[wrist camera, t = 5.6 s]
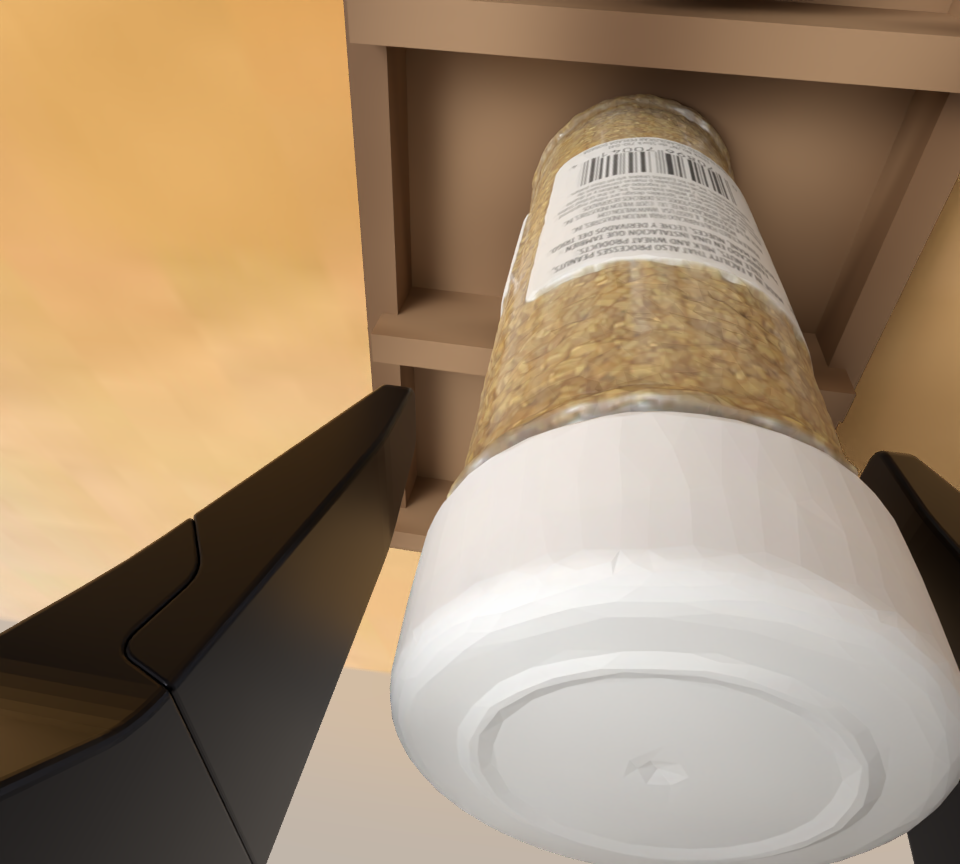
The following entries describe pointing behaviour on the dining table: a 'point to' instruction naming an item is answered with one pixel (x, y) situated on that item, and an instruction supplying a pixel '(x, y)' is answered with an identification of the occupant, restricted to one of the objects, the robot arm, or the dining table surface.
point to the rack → (624, 72)
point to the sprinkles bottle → (667, 547)
